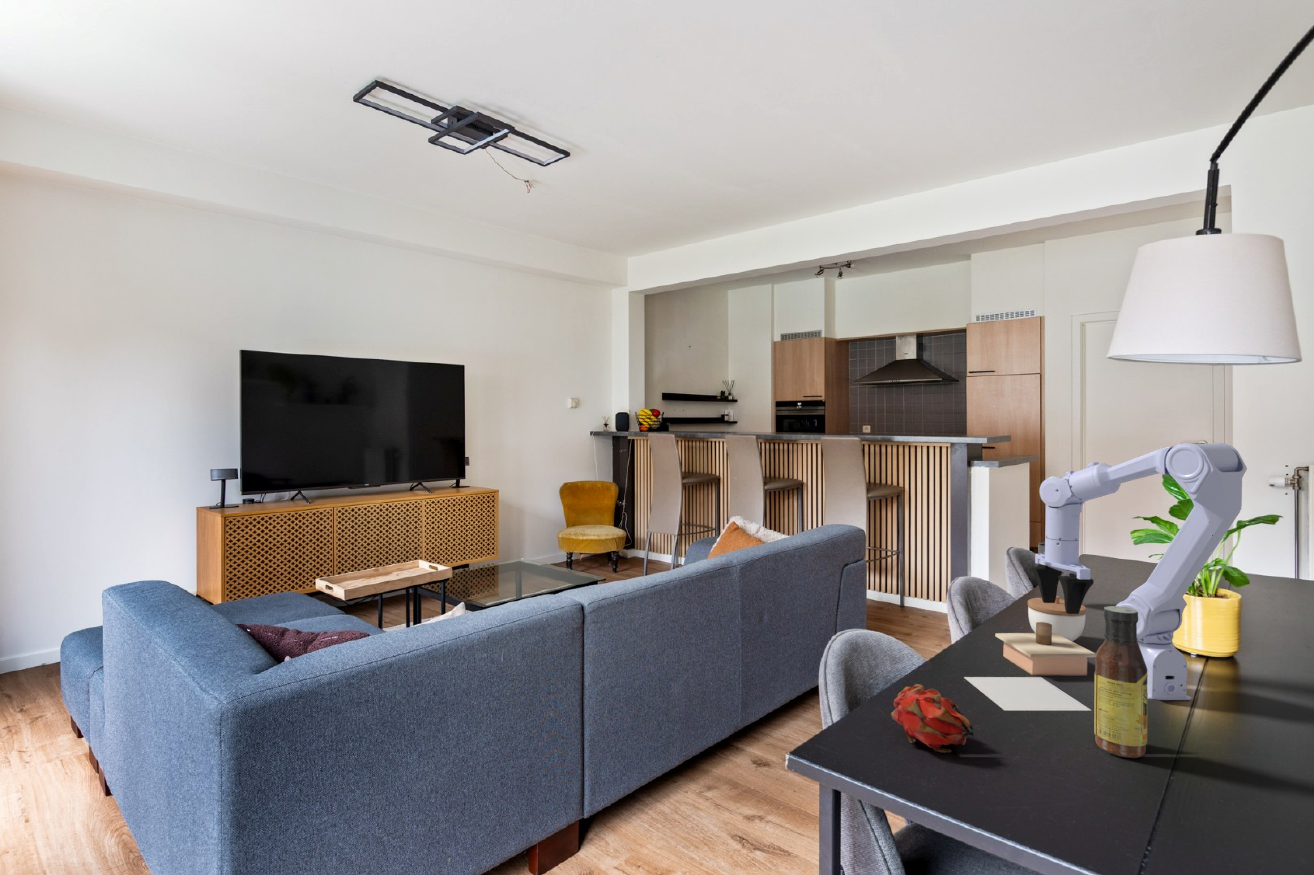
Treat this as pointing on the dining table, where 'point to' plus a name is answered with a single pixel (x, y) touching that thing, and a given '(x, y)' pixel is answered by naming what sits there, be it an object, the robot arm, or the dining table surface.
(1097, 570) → the dining table surface
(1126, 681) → the sauce bottle
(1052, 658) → the terracotta tray
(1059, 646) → the birch lid
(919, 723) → the dragon fruit
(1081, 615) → the lidded jar
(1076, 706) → the grey mat
